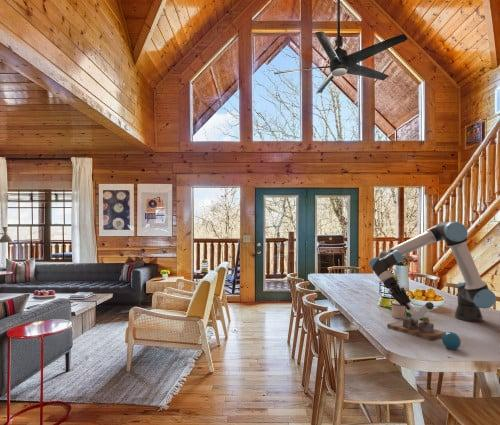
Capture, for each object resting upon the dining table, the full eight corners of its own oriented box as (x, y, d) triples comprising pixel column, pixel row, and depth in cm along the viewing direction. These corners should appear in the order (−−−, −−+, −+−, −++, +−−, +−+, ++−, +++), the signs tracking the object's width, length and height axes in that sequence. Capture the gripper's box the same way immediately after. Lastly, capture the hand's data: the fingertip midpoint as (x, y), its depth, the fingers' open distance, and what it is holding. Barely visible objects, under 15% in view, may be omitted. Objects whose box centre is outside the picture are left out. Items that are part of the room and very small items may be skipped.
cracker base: (387, 327, 198) (387, 311, 198) (401, 323, 206) (401, 308, 206) (431, 340, 176) (431, 322, 177) (446, 335, 184) (445, 318, 184)
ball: (442, 350, 163) (442, 333, 163) (441, 345, 170) (440, 328, 170) (462, 353, 160) (462, 335, 160) (459, 347, 167) (459, 330, 167)
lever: (404, 320, 194) (427, 300, 184) (409, 319, 197) (431, 299, 186) (409, 326, 192) (432, 307, 181) (413, 325, 194) (436, 306, 183)
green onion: (428, 322, 213) (388, 309, 239) (429, 317, 213) (388, 304, 239) (424, 323, 210) (383, 309, 237) (424, 318, 210) (383, 305, 236)
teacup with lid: (407, 319, 215) (407, 300, 216) (392, 318, 218) (392, 299, 218) (404, 314, 227) (404, 296, 227) (389, 313, 229) (389, 296, 230)
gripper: (390, 282, 212) (416, 316, 197) (377, 284, 205) (403, 319, 190) (398, 275, 208) (425, 308, 193) (385, 277, 201) (412, 312, 186)
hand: (414, 314), depth 192 cm, fingers closed
